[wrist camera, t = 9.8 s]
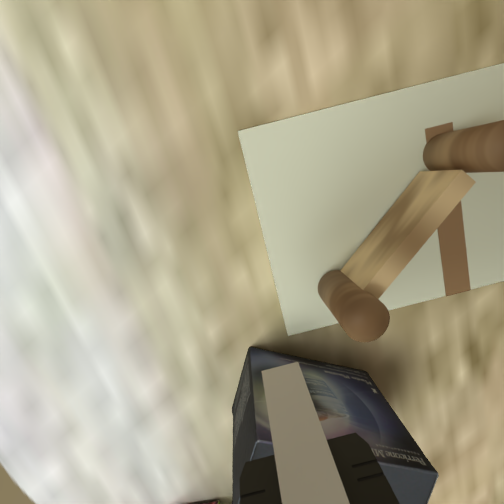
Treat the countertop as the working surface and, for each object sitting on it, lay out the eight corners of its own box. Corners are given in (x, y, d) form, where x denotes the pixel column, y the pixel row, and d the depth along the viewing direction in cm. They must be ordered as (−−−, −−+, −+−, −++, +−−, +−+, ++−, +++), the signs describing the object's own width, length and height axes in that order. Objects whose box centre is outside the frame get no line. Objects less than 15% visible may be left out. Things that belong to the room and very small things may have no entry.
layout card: (623, 32, 24) (630, 30, 23) (623, 248, 27) (629, 249, 27) (237, 131, 24) (237, 130, 23) (287, 334, 27) (288, 336, 27)
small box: (370, 366, 28) (448, 473, 18) (347, 432, 29) (407, 566, 19) (248, 341, 27) (257, 440, 17) (230, 410, 28) (227, 541, 18)
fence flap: (411, 164, 24) (469, 159, 18) (438, 187, 25) (504, 191, 19) (310, 291, 26) (333, 325, 20) (337, 311, 26) (368, 350, 20)
